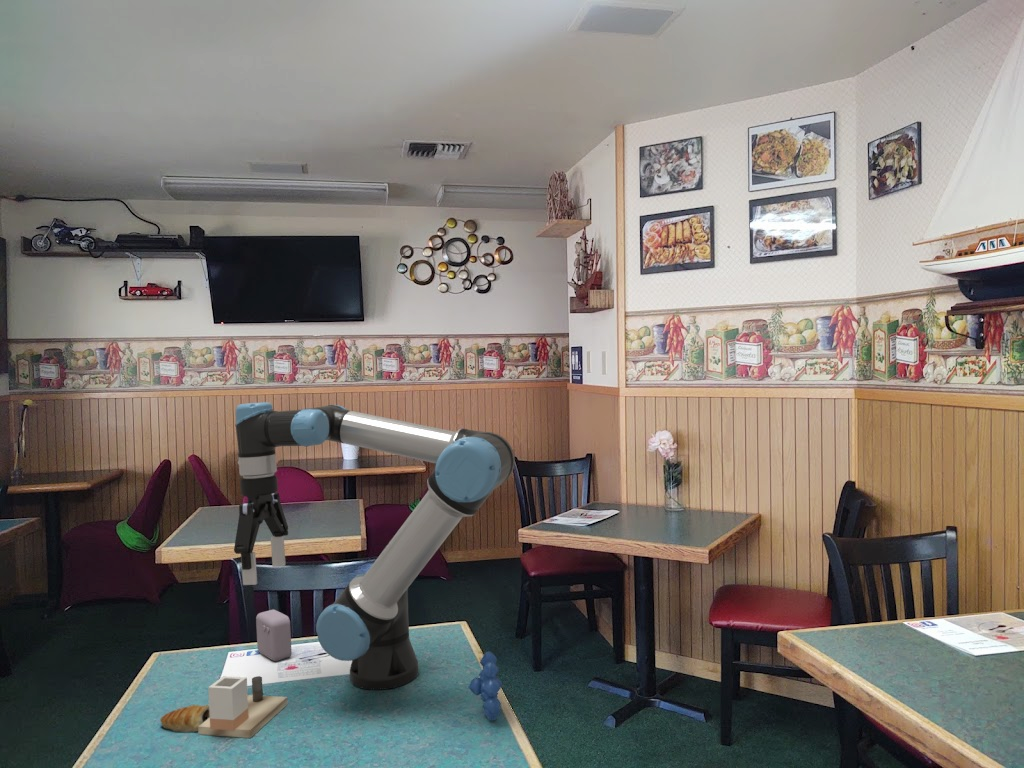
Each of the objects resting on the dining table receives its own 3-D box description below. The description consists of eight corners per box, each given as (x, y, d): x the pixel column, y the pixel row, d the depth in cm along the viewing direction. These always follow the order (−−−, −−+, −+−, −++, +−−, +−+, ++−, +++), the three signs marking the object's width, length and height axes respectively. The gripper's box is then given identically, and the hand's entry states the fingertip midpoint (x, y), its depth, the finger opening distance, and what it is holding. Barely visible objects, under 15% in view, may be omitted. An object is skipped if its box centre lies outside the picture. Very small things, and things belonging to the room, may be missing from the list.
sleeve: (225, 716, 146) (223, 676, 146) (248, 717, 145) (246, 677, 145) (210, 728, 141) (208, 687, 141) (233, 730, 140) (231, 688, 140)
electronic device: (255, 653, 183) (253, 612, 183) (273, 647, 186) (271, 608, 186) (273, 664, 176) (271, 622, 175) (291, 658, 179) (289, 617, 178)
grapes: (467, 703, 151) (465, 645, 151) (500, 700, 152) (498, 642, 152) (471, 731, 140) (468, 668, 139) (506, 727, 140) (504, 665, 140)
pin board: (287, 704, 154) (286, 675, 154) (250, 738, 140) (248, 706, 140) (239, 701, 156) (238, 672, 156) (198, 734, 143) (196, 703, 142)
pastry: (153, 734, 144) (152, 714, 144) (171, 717, 150) (171, 699, 150) (200, 734, 143) (199, 714, 143) (216, 717, 150) (216, 698, 150)
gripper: (267, 468, 170) (274, 559, 171) (210, 485, 146) (218, 593, 146) (299, 466, 169) (305, 558, 170) (247, 484, 145) (254, 592, 145)
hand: (265, 575), depth 158 cm, fingers open, 13 cm apart
